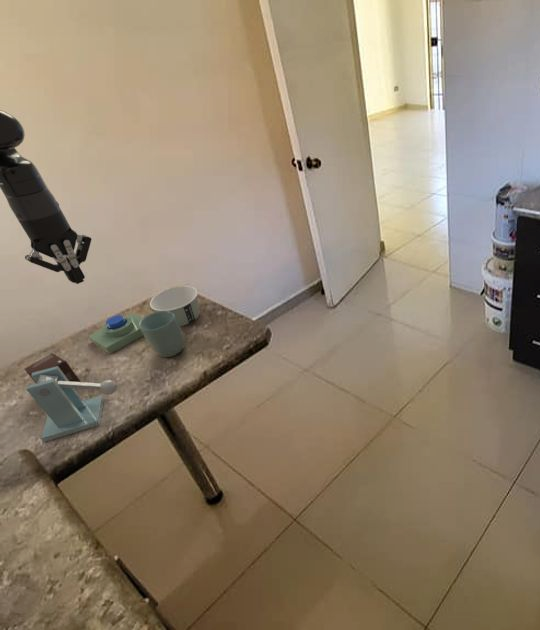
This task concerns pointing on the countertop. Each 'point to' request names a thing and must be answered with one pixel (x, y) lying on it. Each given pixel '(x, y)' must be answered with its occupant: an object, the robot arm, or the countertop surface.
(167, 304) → the food container
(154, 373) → the countertop surface
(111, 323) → the flush button
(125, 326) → the button block
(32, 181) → the robot arm
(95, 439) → the countertop surface
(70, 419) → the lever bracket
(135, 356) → the countertop surface
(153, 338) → the cup
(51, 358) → the box
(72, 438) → the countertop surface
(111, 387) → the flush lever
